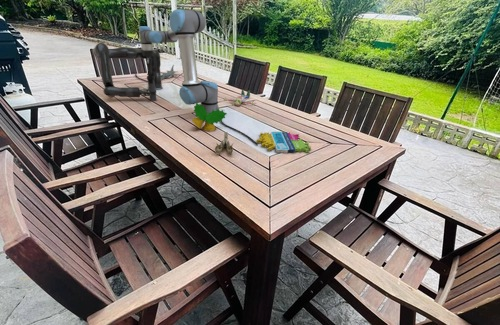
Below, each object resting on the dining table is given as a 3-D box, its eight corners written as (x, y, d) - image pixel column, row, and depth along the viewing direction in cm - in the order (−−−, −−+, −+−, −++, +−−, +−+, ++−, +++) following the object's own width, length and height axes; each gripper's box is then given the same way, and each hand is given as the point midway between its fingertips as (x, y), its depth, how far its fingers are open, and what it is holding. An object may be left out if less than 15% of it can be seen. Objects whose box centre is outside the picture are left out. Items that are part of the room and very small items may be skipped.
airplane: (149, 74, 290) (148, 65, 285) (178, 73, 303) (177, 64, 298) (156, 82, 262) (155, 72, 257) (187, 81, 275) (186, 71, 270)
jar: (152, 101, 206) (149, 78, 197) (148, 100, 208) (145, 77, 199) (157, 100, 209) (155, 77, 201) (154, 99, 212) (151, 76, 203)
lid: (148, 78, 203) (148, 75, 202) (155, 79, 203) (155, 76, 202) (145, 79, 198) (145, 76, 197) (152, 80, 198) (152, 77, 197)
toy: (261, 91, 228) (254, 99, 202) (261, 99, 231) (253, 108, 205) (231, 87, 233) (220, 95, 207) (230, 95, 236) (219, 104, 210)
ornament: (218, 133, 171) (224, 110, 169) (221, 134, 163) (227, 111, 161) (186, 125, 162) (192, 101, 160) (189, 126, 155) (195, 101, 153)
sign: (313, 150, 142) (258, 149, 139) (312, 153, 143) (258, 152, 140) (301, 132, 164) (254, 130, 161) (301, 134, 165) (254, 133, 162)
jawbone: (234, 135, 144) (233, 125, 135) (233, 160, 138) (232, 151, 129) (217, 135, 144) (216, 125, 135) (216, 160, 138) (214, 150, 129)
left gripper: (130, 89, 194) (154, 89, 198) (133, 85, 206) (156, 85, 210) (132, 99, 198) (155, 99, 202) (135, 94, 210) (157, 94, 214)
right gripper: (152, 52, 184) (155, 85, 195) (153, 48, 199) (156, 79, 211) (140, 51, 182) (145, 85, 193) (143, 48, 197) (147, 79, 209)
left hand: (155, 92), depth 206 cm, fingers closed on jar, 5 cm apart
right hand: (151, 82), depth 202 cm, fingers closed on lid, 6 cm apart
